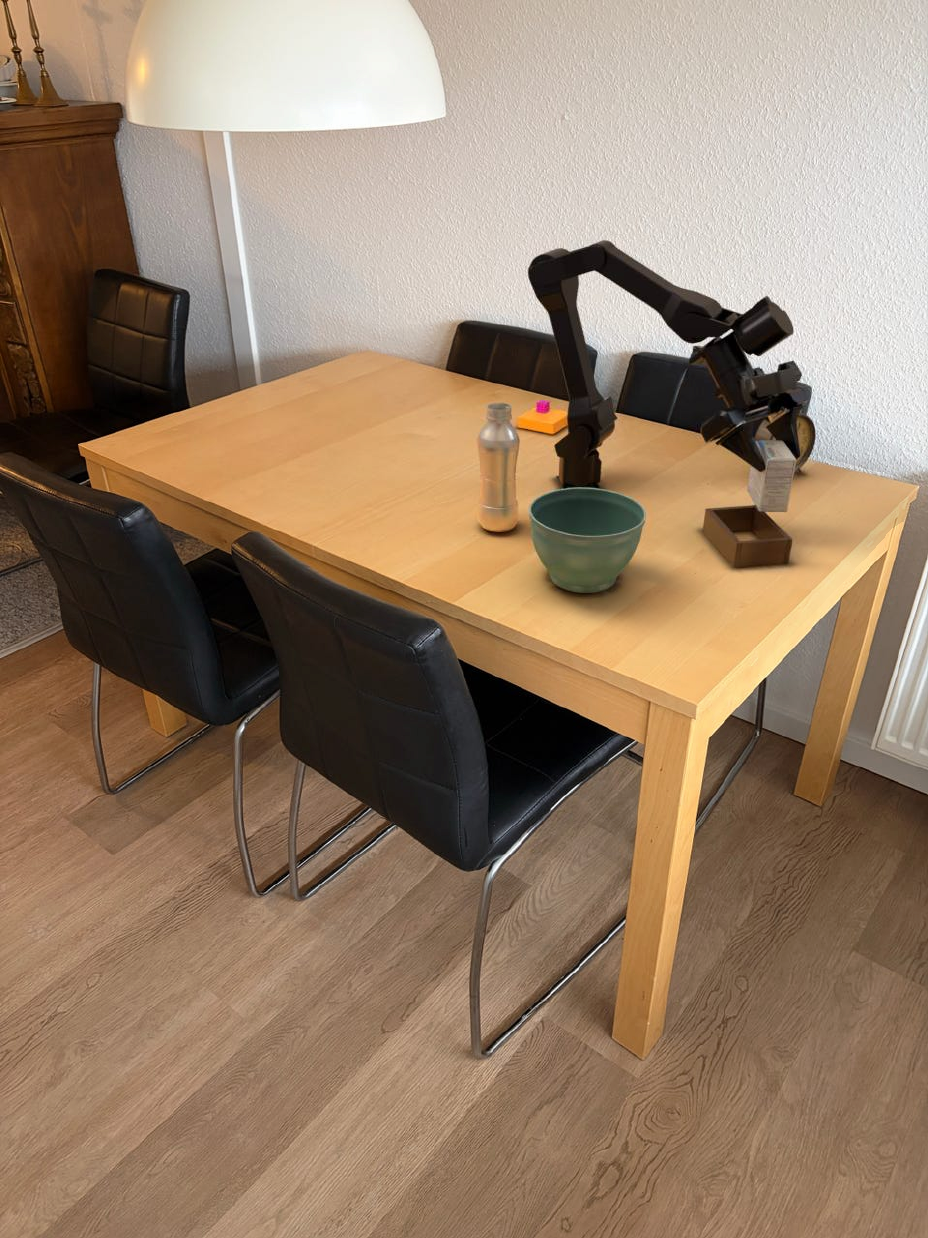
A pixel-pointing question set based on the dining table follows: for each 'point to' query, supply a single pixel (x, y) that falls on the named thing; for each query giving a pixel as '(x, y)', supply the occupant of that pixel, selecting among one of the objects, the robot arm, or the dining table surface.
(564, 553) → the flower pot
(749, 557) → the wooden box
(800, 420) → the alarm clock
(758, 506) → the medicine box
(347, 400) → the dining table surface
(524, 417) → the orange slab
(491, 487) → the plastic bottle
